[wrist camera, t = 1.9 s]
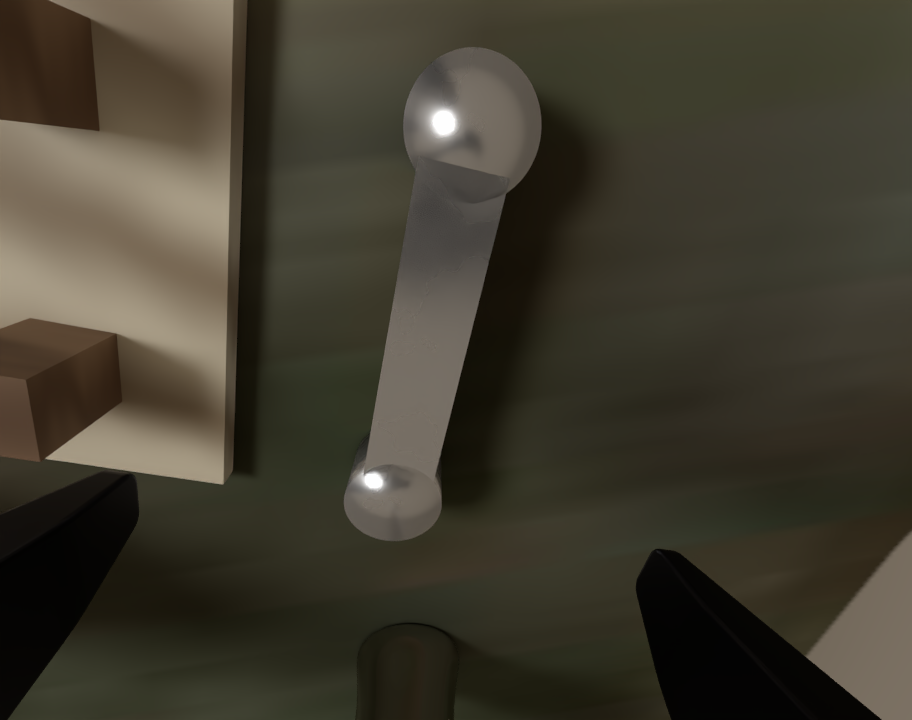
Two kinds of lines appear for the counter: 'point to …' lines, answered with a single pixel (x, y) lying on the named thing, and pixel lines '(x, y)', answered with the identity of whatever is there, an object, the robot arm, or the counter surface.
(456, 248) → the grey rod with balls
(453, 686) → the beer glass
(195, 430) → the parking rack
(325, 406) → the counter surface
